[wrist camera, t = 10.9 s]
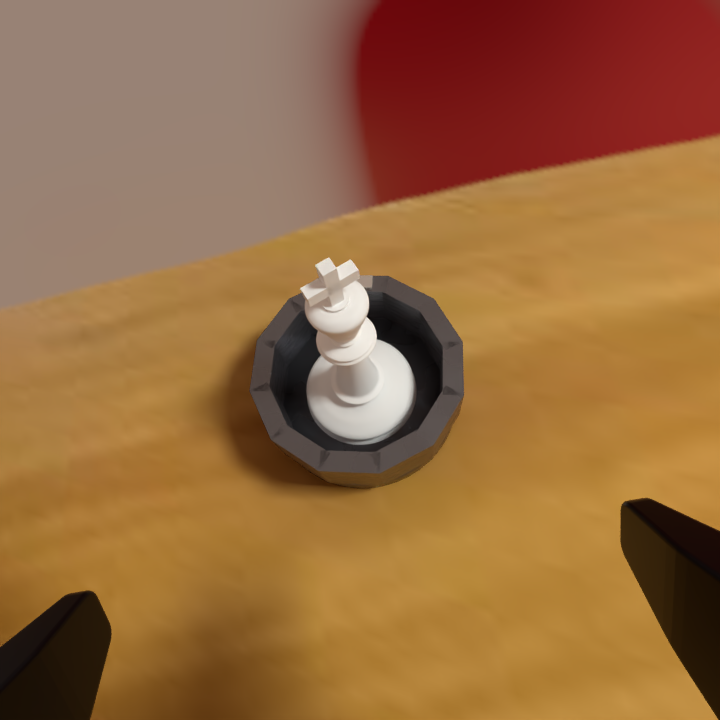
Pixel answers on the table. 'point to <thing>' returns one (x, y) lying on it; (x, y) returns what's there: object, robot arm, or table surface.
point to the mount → (392, 324)
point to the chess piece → (353, 363)
